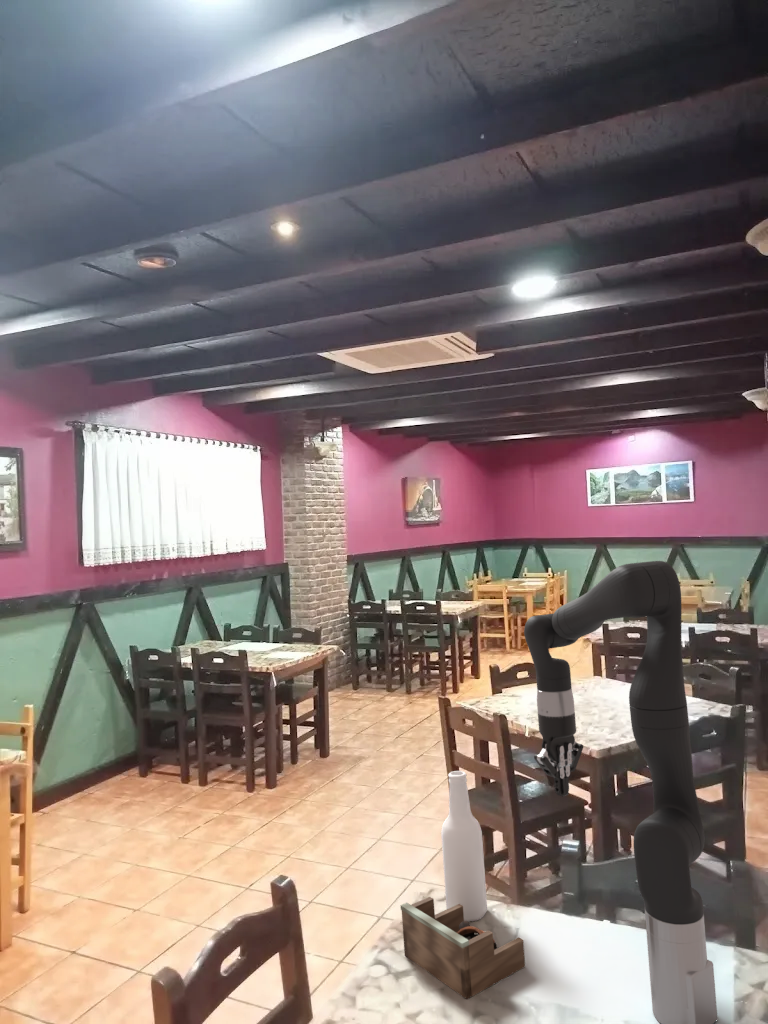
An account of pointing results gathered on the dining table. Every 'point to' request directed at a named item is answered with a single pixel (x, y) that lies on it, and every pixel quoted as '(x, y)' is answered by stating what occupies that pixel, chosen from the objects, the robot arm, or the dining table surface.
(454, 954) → the brown stepped open box
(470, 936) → the pottery mug
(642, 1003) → the dining table surface
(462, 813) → the alcohol
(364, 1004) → the dining table surface
